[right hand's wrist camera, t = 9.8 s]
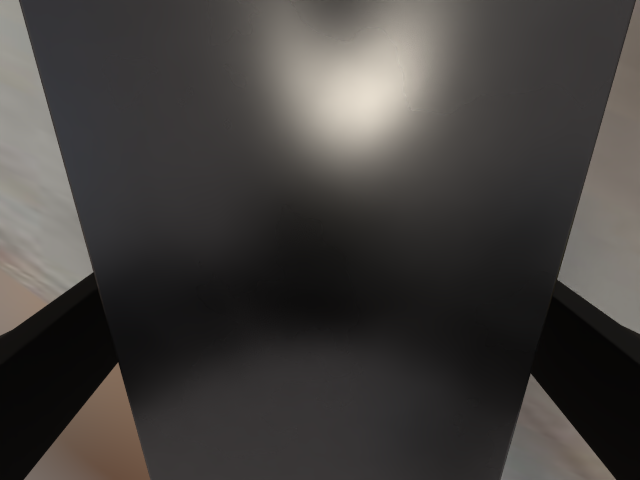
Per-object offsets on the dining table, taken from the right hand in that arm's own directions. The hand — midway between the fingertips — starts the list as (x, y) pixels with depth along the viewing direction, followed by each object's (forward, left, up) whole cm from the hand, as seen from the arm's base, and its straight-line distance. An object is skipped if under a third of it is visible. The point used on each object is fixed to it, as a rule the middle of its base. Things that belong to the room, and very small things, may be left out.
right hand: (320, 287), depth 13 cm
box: (+9, +2, -5) cm, 11 cm away
